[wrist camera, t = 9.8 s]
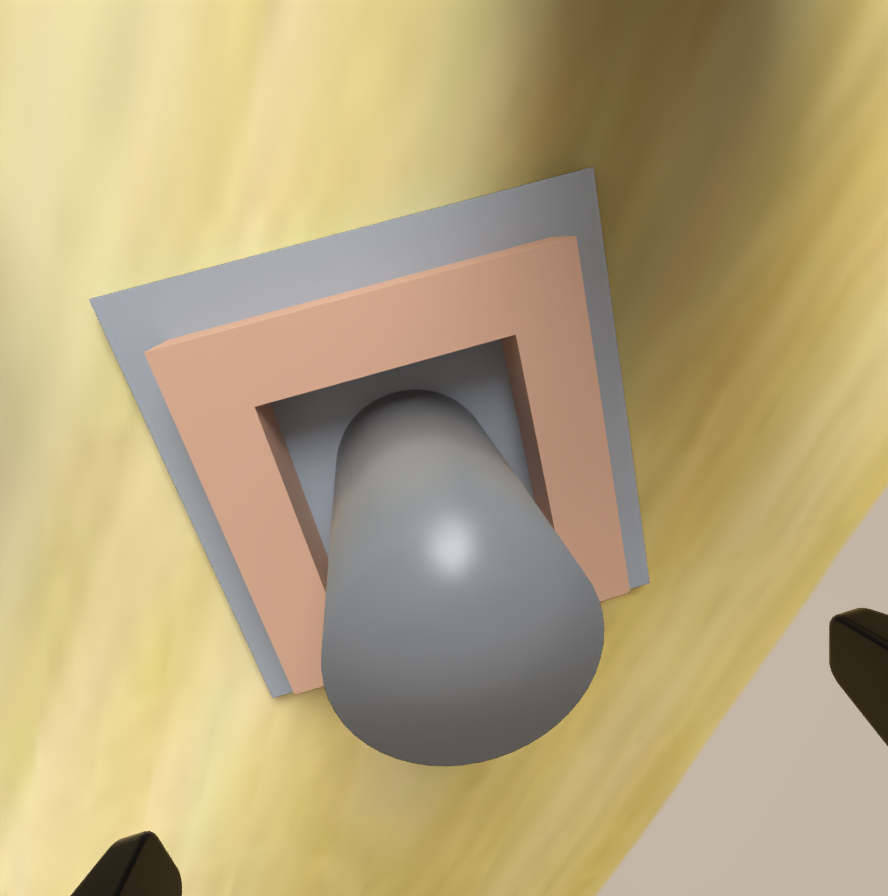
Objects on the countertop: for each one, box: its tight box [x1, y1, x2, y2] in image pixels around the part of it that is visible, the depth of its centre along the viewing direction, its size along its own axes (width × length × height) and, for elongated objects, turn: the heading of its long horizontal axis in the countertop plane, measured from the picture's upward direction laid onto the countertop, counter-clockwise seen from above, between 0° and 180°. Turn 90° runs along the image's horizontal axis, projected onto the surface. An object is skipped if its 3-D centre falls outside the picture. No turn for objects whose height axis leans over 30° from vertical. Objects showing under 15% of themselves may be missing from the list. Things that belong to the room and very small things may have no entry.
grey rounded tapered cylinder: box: [321, 389, 604, 766], centre depth 14 cm, size 5×5×9 cm
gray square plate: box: [89, 167, 650, 698], centre depth 17 cm, size 14×14×3 cm
